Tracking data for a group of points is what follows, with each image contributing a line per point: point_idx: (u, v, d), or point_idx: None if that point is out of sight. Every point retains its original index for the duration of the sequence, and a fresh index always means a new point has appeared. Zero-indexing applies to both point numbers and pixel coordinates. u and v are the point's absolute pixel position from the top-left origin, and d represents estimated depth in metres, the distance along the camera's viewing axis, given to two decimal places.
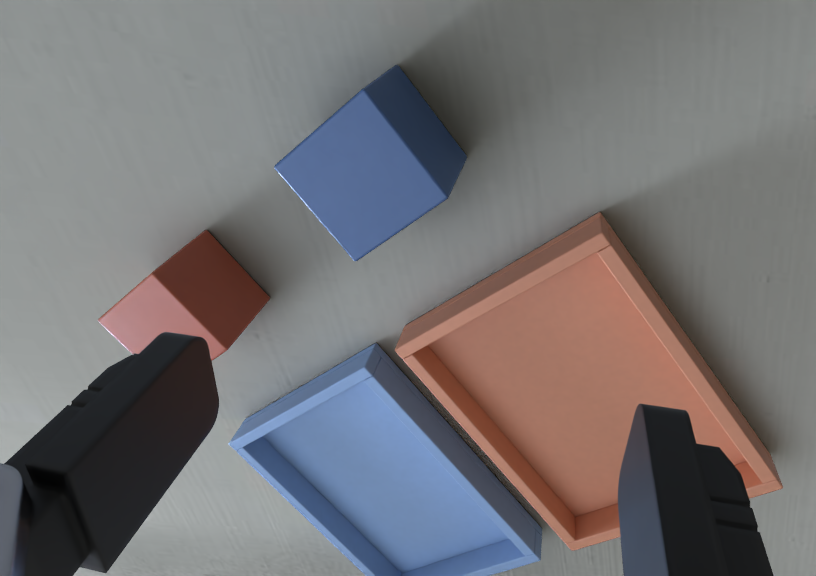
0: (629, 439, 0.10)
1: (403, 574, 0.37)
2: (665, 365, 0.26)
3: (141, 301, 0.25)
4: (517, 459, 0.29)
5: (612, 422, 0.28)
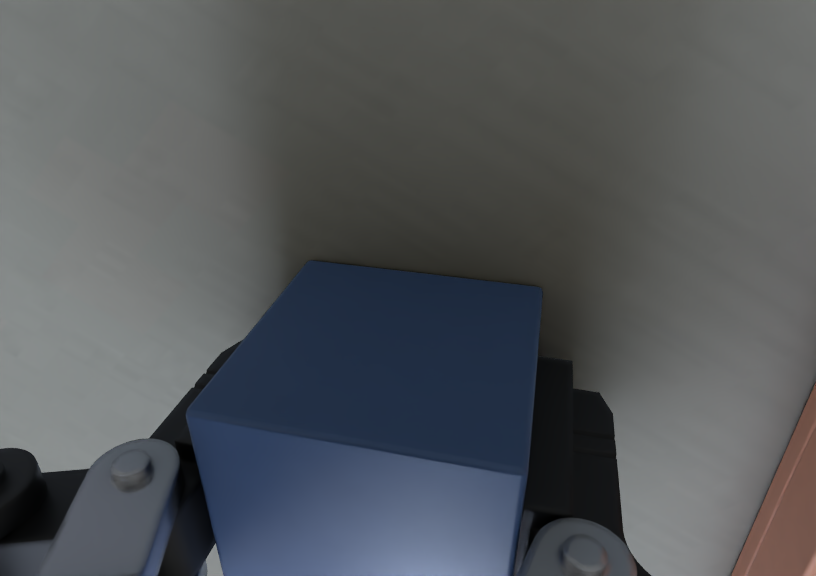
0: None
1: None
2: None
3: None
4: None
5: None
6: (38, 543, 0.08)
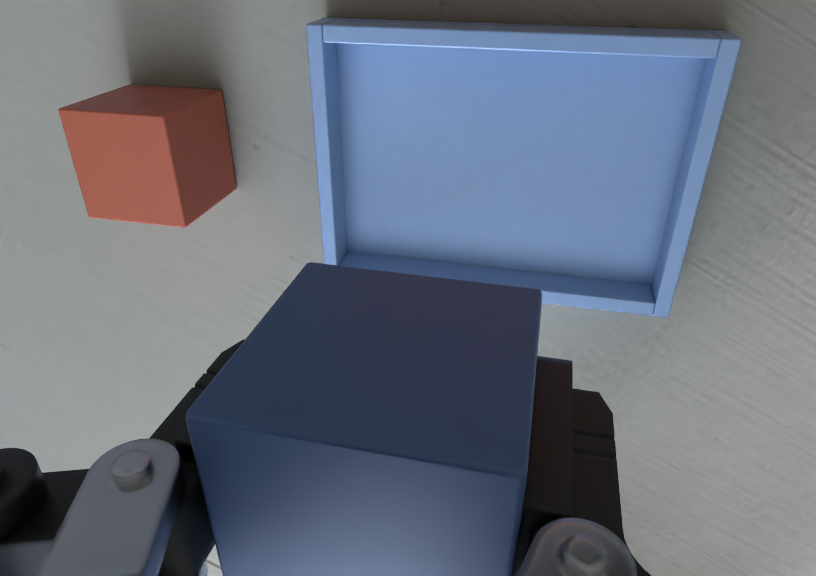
0: None
1: (652, 283, 0.24)
2: None
3: (82, 151, 0.23)
4: None
5: None
6: (38, 543, 0.08)
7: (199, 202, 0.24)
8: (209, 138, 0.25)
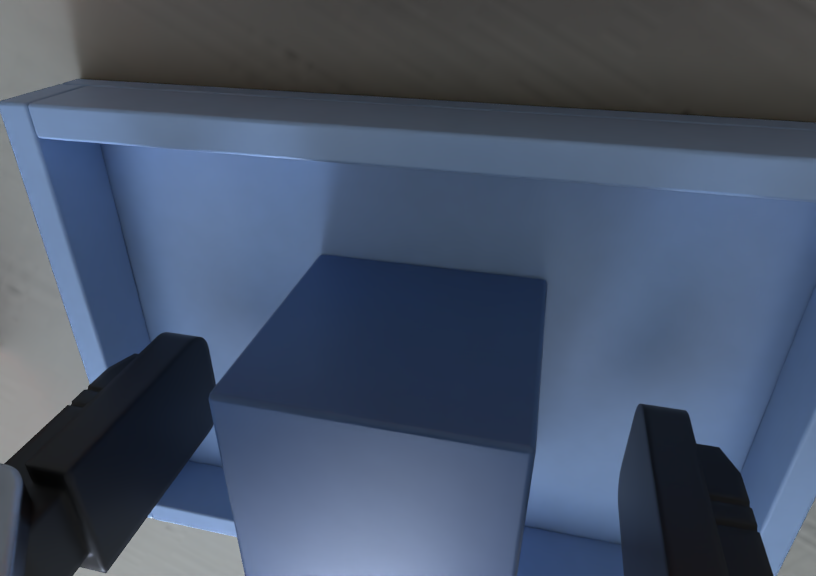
0: (629, 439, 0.10)
1: None
2: None
3: None
4: None
5: None
6: None
7: None
8: None
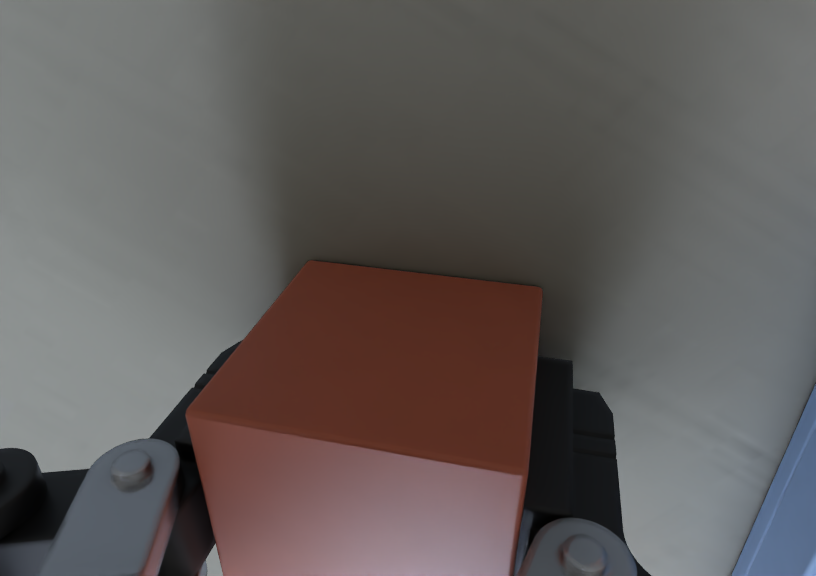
0: None
1: None
2: None
3: (241, 504, 0.08)
4: None
5: None
6: (38, 543, 0.08)
7: None
8: None
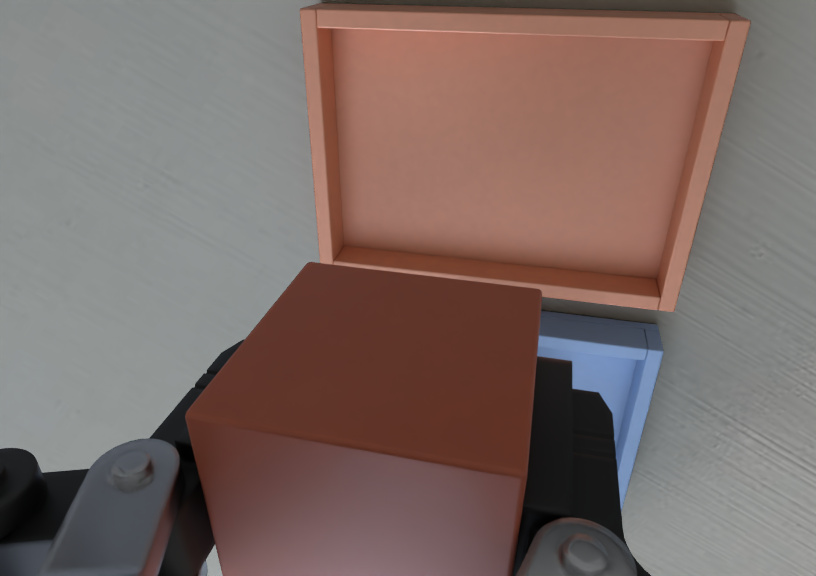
0: None
1: None
2: (515, 51, 0.21)
3: (241, 506, 0.08)
4: (525, 271, 0.24)
5: (553, 152, 0.22)
6: (38, 543, 0.08)
7: None
8: None
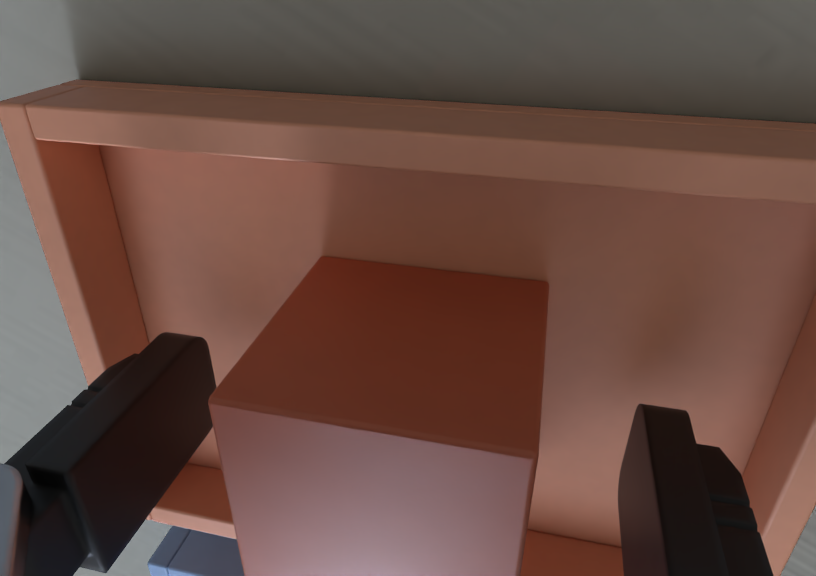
0: (629, 439, 0.10)
1: None
2: (440, 185, 0.10)
3: (260, 489, 0.09)
4: None
5: None
6: None
7: None
8: None
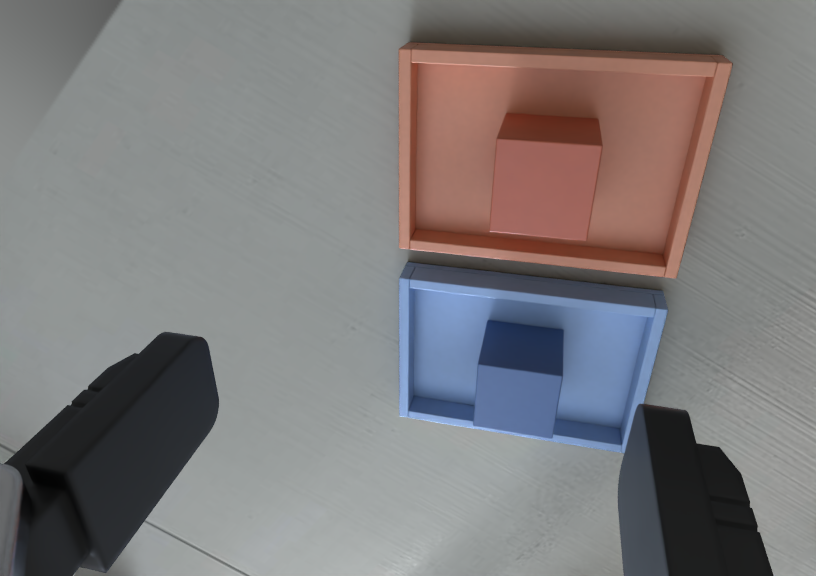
0: (629, 439, 0.10)
1: (620, 427, 0.37)
2: (559, 80, 0.28)
3: (507, 174, 0.26)
4: (560, 248, 0.31)
5: None
6: None
7: None
8: None
